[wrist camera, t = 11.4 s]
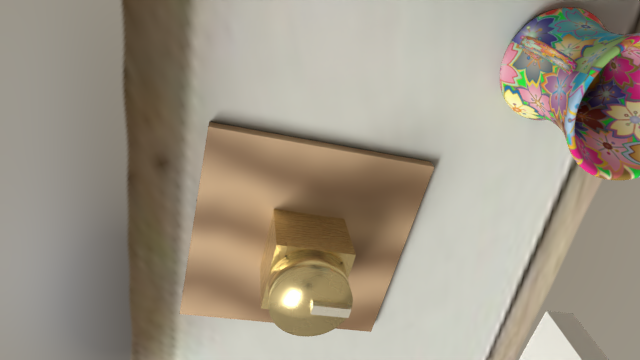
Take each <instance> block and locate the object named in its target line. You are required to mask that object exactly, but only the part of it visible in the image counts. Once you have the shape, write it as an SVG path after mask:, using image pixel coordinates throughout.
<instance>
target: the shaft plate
mask: <svg viewBox="0 0 640 360" xmlns="http://www.w3.org/2000/svg"><path fill="white" fill-rule="evenodd" d="M433 170H434V166H433V164H432V163H431V162H429V161H423V160H418V159H412V158H407V157H401V156H396V155H390V154H385V153H379V152H374V151H368V150H363V149H357V148H352V147H346V146H341V145H335V144H329V143H324V142H318V141H313V140H307V139H302V138H296V137H291V136H285V135H280V134H274V133H269V132H263V131H258V130H252V129H247V128H241V127H236V126H230V125H224V124H219V123H213V122H209V126H208V133H207V139H206V146H205V152H204V159H203V165H202V172H201V178H200V185H199V191H198V198H197V204H196V211H195V217H194V224H193V230H192V237H191V243H190V250H189V256H188V263H187V269H186V276H185V282H184V289H183V295H182V302H181V308H180V314H187V315H198V316H208V317H219V318H230V319H241V320H251V321H262V322H273V320H272V318H271V316H270V313H269V309H261V295H260V265H261V261H262V256H263V252H264V248H265V243H266V239H267V235H268V230H269V226H270V222H271V218H272V213H273V209H279V210H286V211H293V212H300V213H307V214H314V215H321V216H328V217H335V218H341V219H345V222H346V225H347V228H348V232H349V235H350V238H351V241H352V244H353V247H354V250H355V254H356V256H355V259H354V262H353V265H352V268H351V271H350V274H349V277H348V281H349V285H350V289H351V292H352V296H353V305H352V309H351V312H350V315H349V318H346V319H345V320H344V321H343V322H342V323H341V324H340V325H339V326H338V327H336V328H337V329H348V330H359V331H370V332H371V330H372V328H373V325H374V322H375V320H376V317H377V315H378V312H379V309H380V307H381V304H382V302H383V299H384V296H385V294H386V291H387V289H388V286H389V284H390V281H391V278H392V276H393V273H394V271H395V268H396V265H397V263H398V260H399V258H400V255H401V253H402V250H403V247H404V245H405V242H406V240H407V237H408V234H409V232H410V229H411V227H412V224H413V221H414V219H415V216H416V214H417V211H418V209H419V206H420V203H421V201H422V198H423V196H424V193H425V190H426V188H427V185H428V183H429V180H430V177H431V175H432V172H433ZM286 256H287V255H285V257H286ZM273 323H274V322H273Z"/></svg>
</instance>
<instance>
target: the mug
mask: <svg viewBox="0 0 640 360" xmlns="http://www.w3.org/2000/svg"><path fill="white" fill-rule="evenodd" d="M500 86H501V91H502V94H503V97H504V99H505V100H506V102H507V104H508V105H509V106H510V108H511V109H512V110H513V111H515V112H516V113H517V114H519V115H521V116H523V117H525V118H528V119H533V120H550V121H552V122H553V123H555V124H556V125H557V126H558V127H559V128H560V129H561V130H562V132H563V133H564V135H565V137H566V140H567V144H568V147H569V150H570V152H571V154H572V156H573V158H574V159H575V161H576V162H577V163H578V164H579V165H580V167H582V168H583V169H584V170H585V171H587V172H588V173H590V174H592V175H594V176H596V177H599V178H603V179H608V180H629V179H634V178H638V177H640V32H639V33H635V34H615V33H611V32H609V31H607V30H606V28H605V27H604V25H603V24H602V22H601V21H600V20H599V19H598V18H597V17H596V16H594V15H593V14H592V13H590V12H588V11H586V10H583V9H579V8H571V7H567V8H559V9H554V10H551V11H548V12H546V13H543V14H541V15H539V16H538V17H536V18H534V19H533V20H532V21H530V22H529V23H528V24H526V25H525V26H524V27H523V28H522V29H521V30H520V31H519V32H518V33H517V35H516V36H515V37H514V39H513V40H512V41H511V43H510V45H509V46H508V48H507V50H506V52H505V55H504V57H503V60H502V64H501V69H500Z"/></svg>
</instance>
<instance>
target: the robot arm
mask: <svg viewBox="0 0 640 360" xmlns="http://www.w3.org/2000/svg"><path fill="white" fill-rule="evenodd" d="M519 360H609V359H608V358H607V357H606V355H605V354H604V353H603V352H602V350H601V349H600V348H599V346H598V345H597V344H596V343H595V341H594V340H593V339H592V337H591V336H590V335H589V334H588V332H587V331H586V330H585V329H584V327H583V326H582V325H581V324H580V322H579V321H578V320H577V318H576V317H575V316H574V315H573V314H572V313H561V312H551V311H546V313H545V314H544V316H543V318H542V320H541V321H540V323H539V325H538V327H537V329H536V330H535V332H534V334H533V336H532V337H531V339H530V341H529V343H528V344H527V346H526V348H525V350H524V351H523V354H522V355H521V357H520V359H519Z"/></svg>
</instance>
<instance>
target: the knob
mask: <svg viewBox="0 0 640 360" xmlns="http://www.w3.org/2000/svg"><path fill="white" fill-rule="evenodd" d="M285 255H287V256H286V257H285ZM355 256H356V254H355V250H354V247H353V244H352V241H351V238H350V235H349V232H348V228H347V225H346V222H345V219H341V218H335V217H328V216H321V215H314V214H307V213H300V212H293V211H286V210H279V209H273V213H272V218H271V222H270V226H269V230H268V235H267V239H266V243H265V248H264V252H263V256H262V261H261V265H260V295H261V309H269V313H270V316H271V318H272V320H273V322H274V323H275V324H276V325H277V326H278V327H279V328H280V329H282V330H283V331H285V332H287V333H290V334H293V335H297V336H316V335H320V334H324V333H327V332H329V331H331V330H333V329H335V328H336V327H338V326H339V325H340V324H341V323H342V322H343V321H344V320H345V319H346V318H349V315H350V312H351V309H352V305H353V296H352V292H351V289H350V285H349V281H348V277H349V274H350V271H351V268H352V265H353V262H354V259H355Z"/></svg>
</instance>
